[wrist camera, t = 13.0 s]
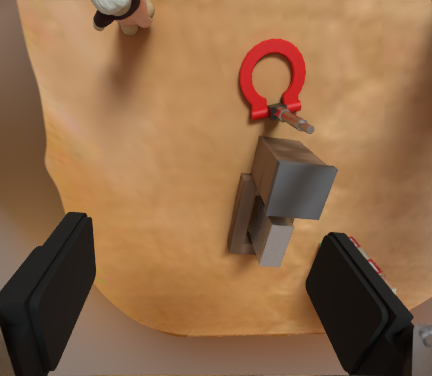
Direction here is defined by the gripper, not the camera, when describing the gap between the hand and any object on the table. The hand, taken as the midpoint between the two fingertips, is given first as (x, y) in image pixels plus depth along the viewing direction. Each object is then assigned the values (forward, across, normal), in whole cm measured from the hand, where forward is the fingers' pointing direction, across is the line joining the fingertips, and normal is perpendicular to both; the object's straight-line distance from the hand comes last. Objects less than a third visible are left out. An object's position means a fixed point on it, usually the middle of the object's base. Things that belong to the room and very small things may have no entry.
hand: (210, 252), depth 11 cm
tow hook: (+29, -9, -5) cm, 30 cm away
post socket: (+28, -12, +12) cm, 33 cm away
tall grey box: (+28, -12, +15) cm, 34 cm away
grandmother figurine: (+28, +8, -10) cm, 31 cm away
